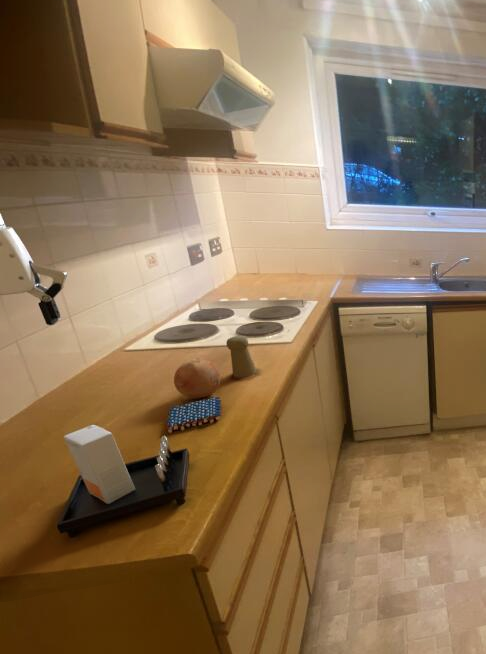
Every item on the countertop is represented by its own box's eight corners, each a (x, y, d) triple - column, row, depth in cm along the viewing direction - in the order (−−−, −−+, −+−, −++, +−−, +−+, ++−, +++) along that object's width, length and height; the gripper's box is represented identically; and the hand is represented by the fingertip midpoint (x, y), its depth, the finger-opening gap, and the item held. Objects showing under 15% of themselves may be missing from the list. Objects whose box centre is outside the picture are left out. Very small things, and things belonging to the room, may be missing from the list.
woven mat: (170, 413, 104) (167, 406, 103) (222, 402, 109) (219, 395, 108) (166, 434, 96) (163, 426, 95) (222, 420, 101) (220, 413, 100)
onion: (188, 389, 116) (177, 354, 112) (230, 385, 118) (220, 351, 114) (172, 406, 107) (159, 370, 103) (217, 402, 109) (206, 366, 105)
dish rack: (64, 541, 68) (43, 501, 65) (85, 490, 79) (68, 453, 76) (187, 503, 76) (174, 466, 73) (191, 461, 87) (180, 427, 84)
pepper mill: (240, 379, 121) (231, 342, 117) (228, 374, 124) (218, 338, 120) (261, 371, 126) (253, 336, 122) (249, 367, 129) (240, 332, 125)
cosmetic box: (88, 494, 75) (61, 435, 70) (118, 480, 78) (94, 423, 74) (107, 505, 72) (80, 445, 68) (136, 490, 76) (113, 431, 71)
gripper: (-143, 224, 58) (-79, 343, 64) (36, 220, 66) (77, 325, 73) (-108, 219, 64) (-53, 328, 70) (52, 215, 72) (88, 314, 79)
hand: (13, 327), depth 72 cm, fingers open, 9 cm apart
